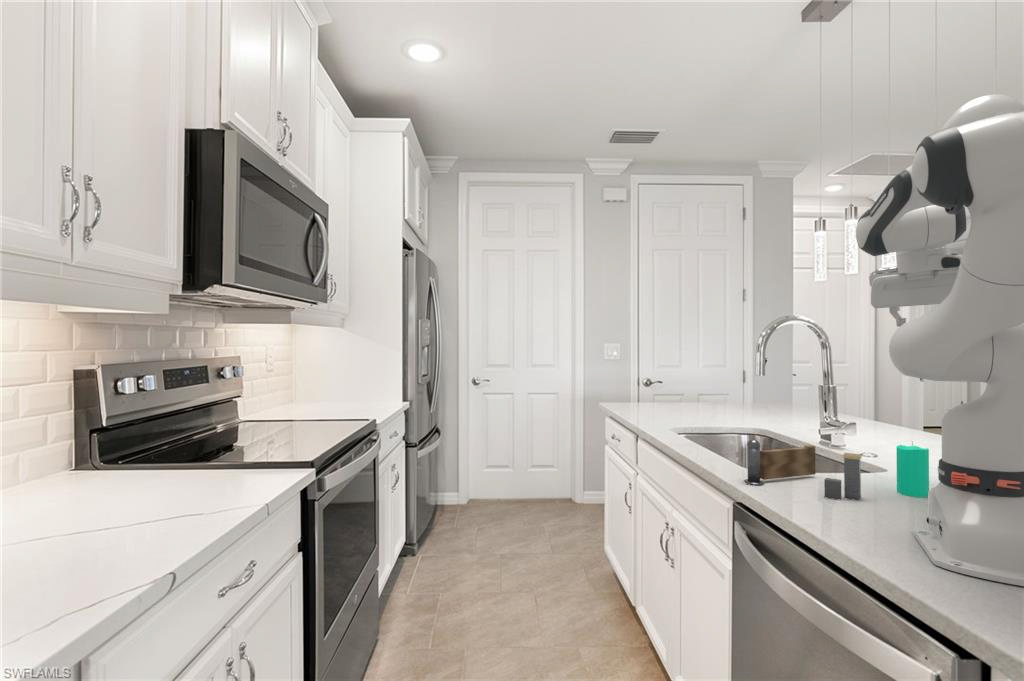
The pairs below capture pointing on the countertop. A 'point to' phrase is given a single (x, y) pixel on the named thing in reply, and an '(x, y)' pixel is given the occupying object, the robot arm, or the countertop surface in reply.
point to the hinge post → (753, 463)
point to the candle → (912, 471)
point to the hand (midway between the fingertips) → (926, 325)
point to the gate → (787, 462)
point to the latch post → (846, 479)
